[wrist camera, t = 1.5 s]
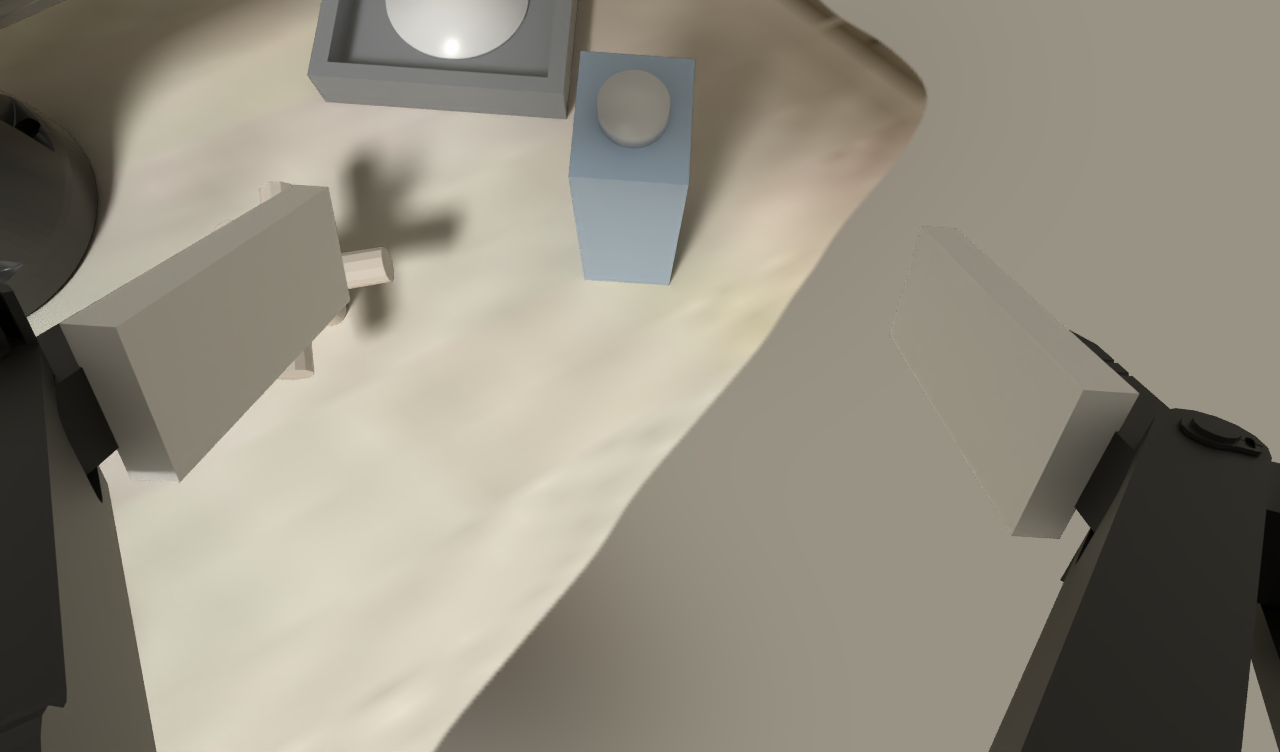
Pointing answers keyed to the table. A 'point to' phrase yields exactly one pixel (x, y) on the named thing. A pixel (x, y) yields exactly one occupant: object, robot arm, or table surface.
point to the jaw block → (630, 163)
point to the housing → (447, 54)
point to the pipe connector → (359, 272)
